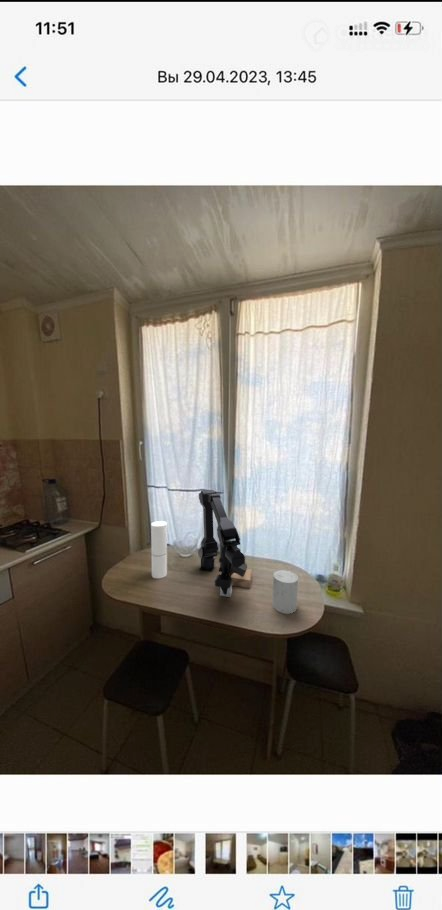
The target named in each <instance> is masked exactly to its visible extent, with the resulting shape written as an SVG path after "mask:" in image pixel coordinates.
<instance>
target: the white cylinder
mask: <svg viewBox="0 0 442 910" xmlns="http://www.w3.org/2000/svg"><path fill="white" fill-rule="evenodd" d="M272 576H273V580H272V602H271V603H272V607H273V608H274V609H275V610H276V611H278V613H281V614H284V615H288V614H289V615H290V613H291V614H293V612H294V613H295V612H297V610H298V609H297V608H298V588H299V584H298V582H299V575H298V574H296V572H294V571H292V570H289V569H284V568H281V569H279V568H278V569H276V570H275V571H273V573H272ZM296 609H297V610H296Z"/></svg>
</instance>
